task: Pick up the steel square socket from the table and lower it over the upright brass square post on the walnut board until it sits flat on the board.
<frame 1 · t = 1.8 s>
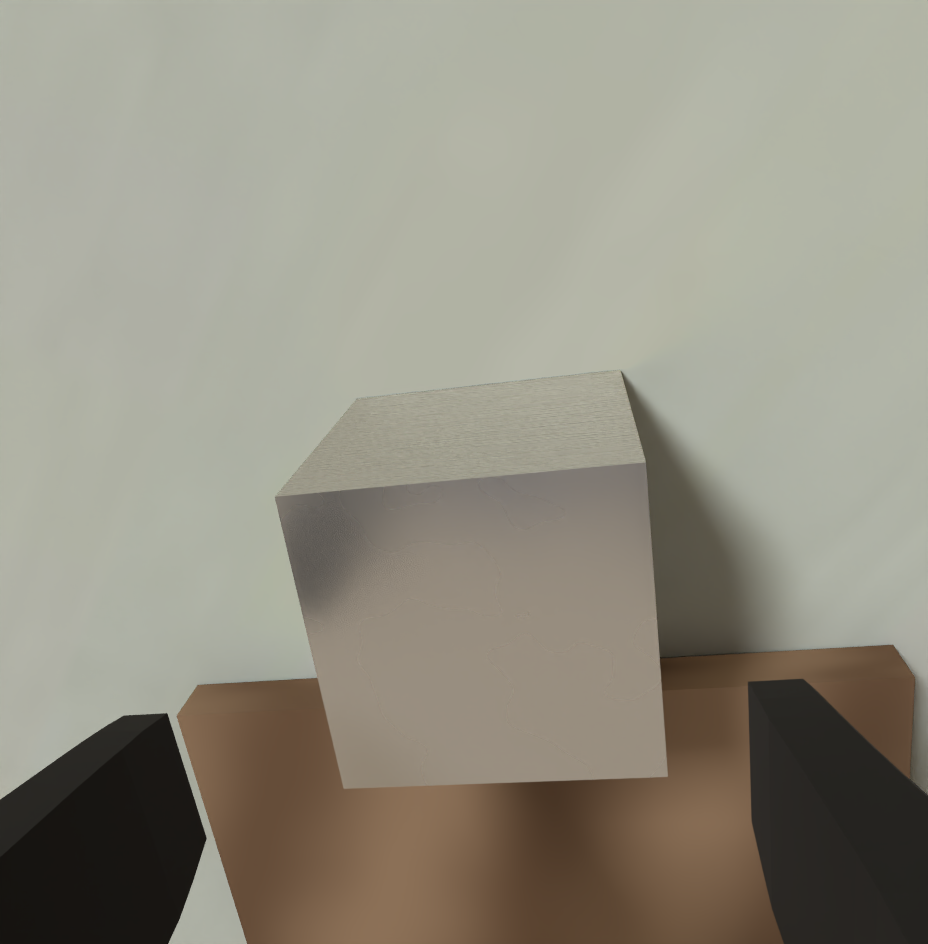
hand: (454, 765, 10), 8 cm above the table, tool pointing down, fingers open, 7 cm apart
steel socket: (501, 506, 18), on the table
walnut board: (554, 896, 21), on the table
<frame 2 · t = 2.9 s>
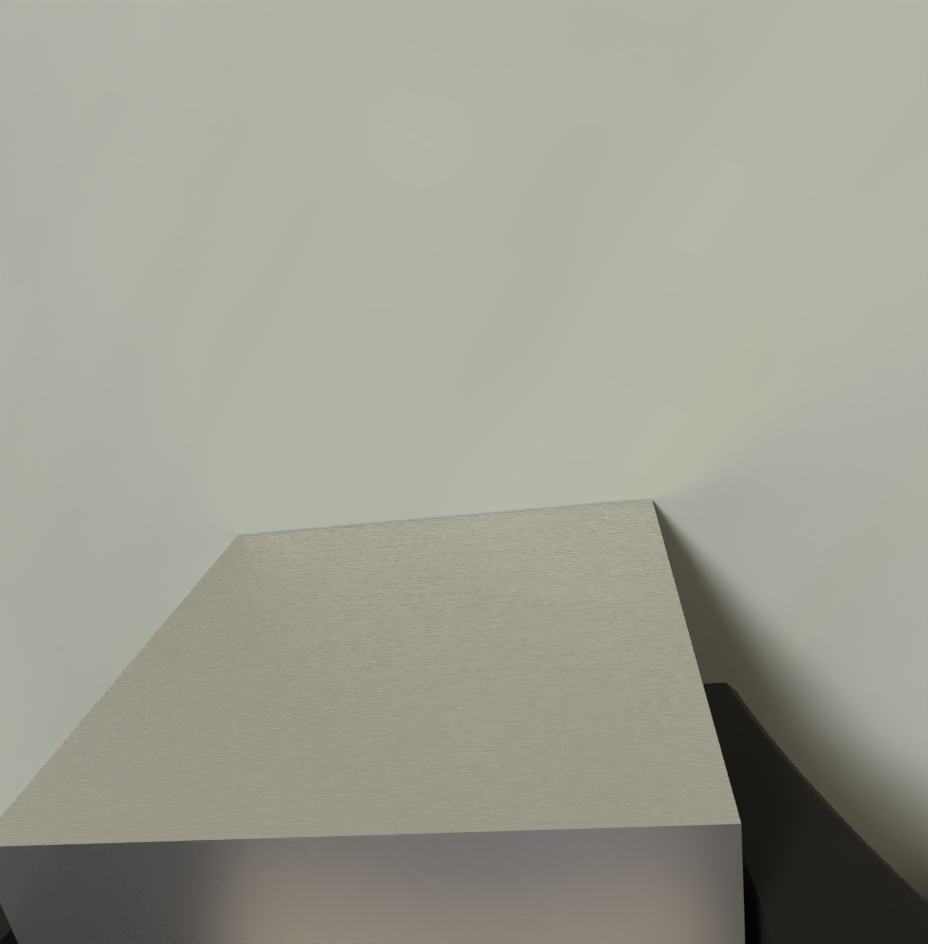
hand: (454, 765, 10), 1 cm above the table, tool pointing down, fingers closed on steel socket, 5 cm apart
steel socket: (466, 695, 11), on the table, touching gripper
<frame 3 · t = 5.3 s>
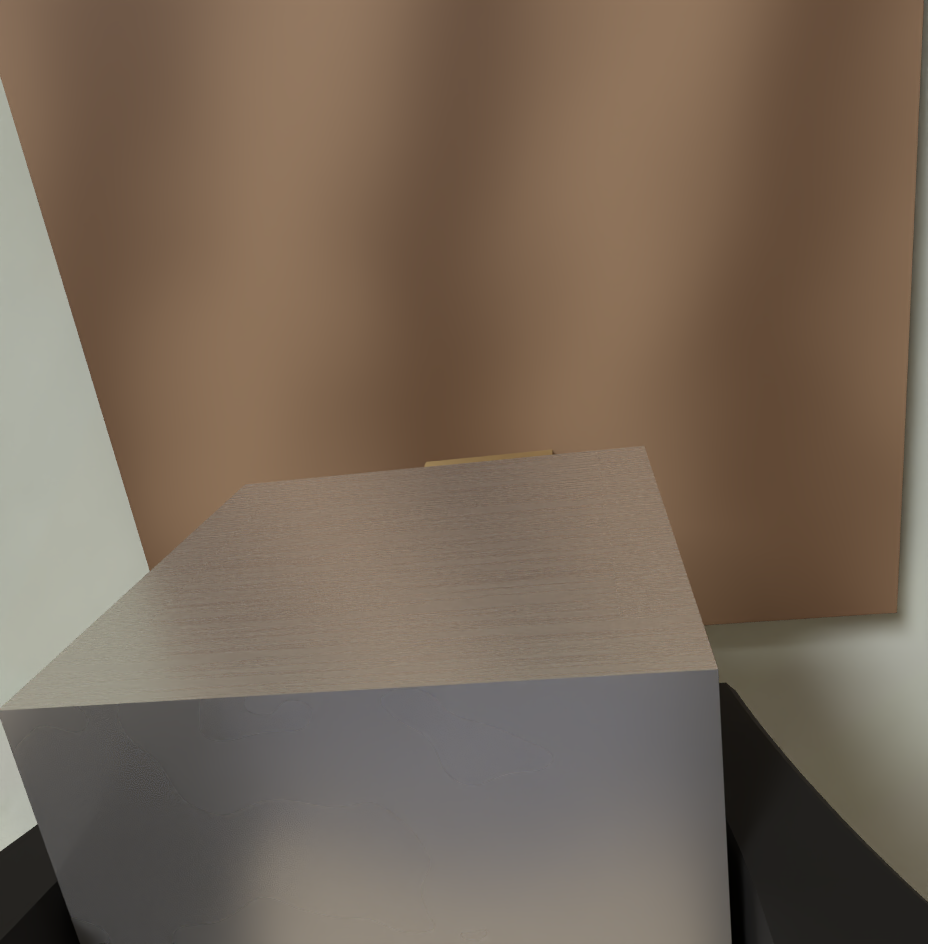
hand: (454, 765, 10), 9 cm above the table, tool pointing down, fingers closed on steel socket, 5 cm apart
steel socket: (464, 645, 12), point 7 cm above the table, touching gripper
walnut board: (476, 313, 17), on the table
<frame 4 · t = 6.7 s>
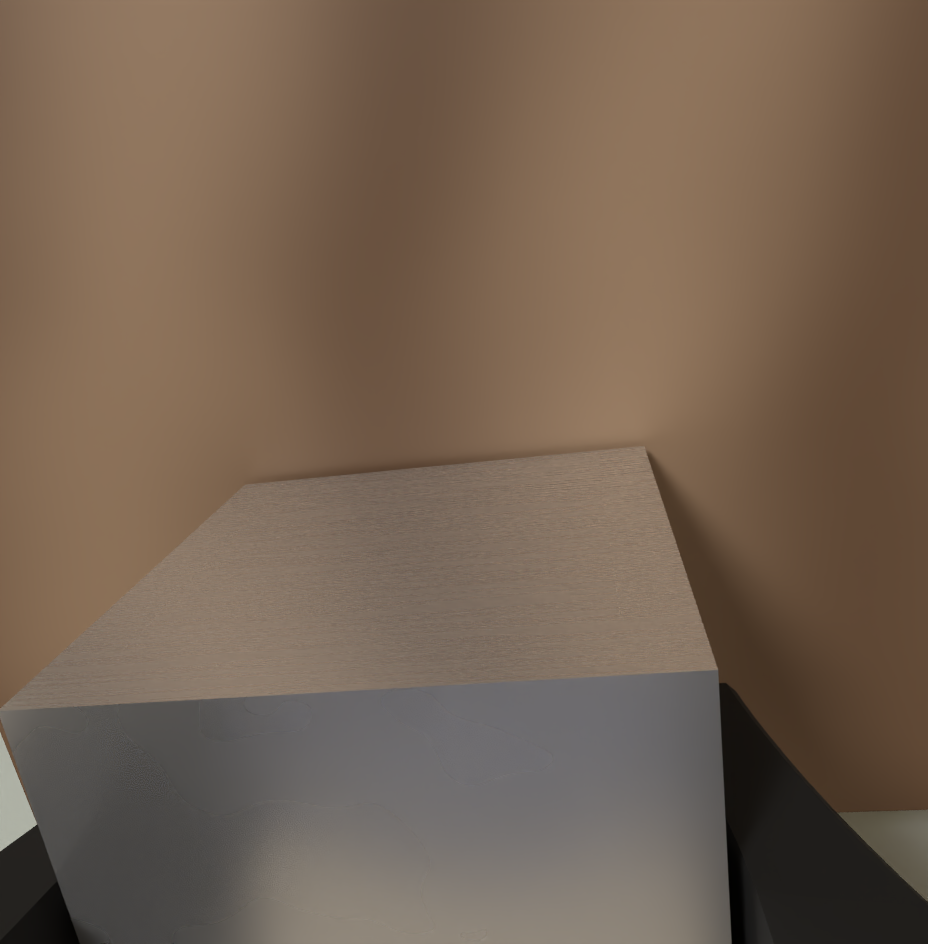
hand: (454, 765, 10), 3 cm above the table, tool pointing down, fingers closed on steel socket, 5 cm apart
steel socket: (464, 645, 12), point 1 cm above the table, touching gripper
walnut board: (442, 380, 12), on the table
when the fingers open (3 cm above the table, at t = 7.7 s): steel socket stays where it is, resting on walnut board.
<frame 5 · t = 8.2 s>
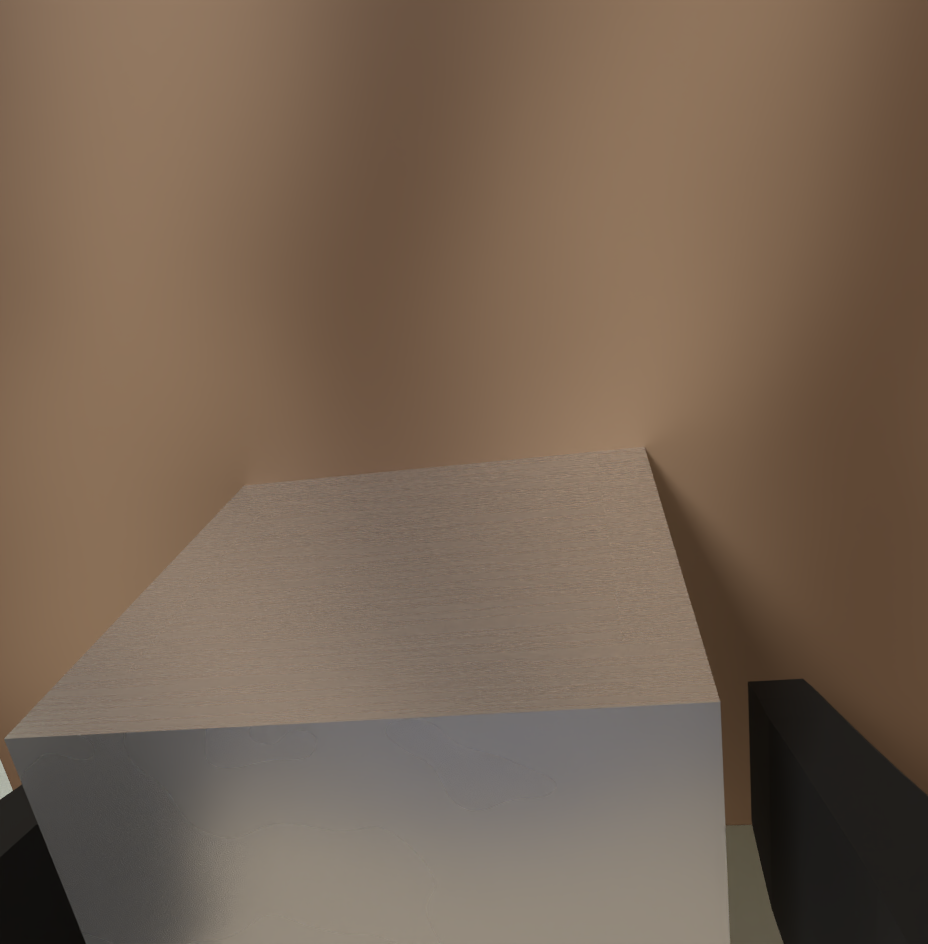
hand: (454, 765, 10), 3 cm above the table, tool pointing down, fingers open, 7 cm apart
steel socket: (465, 642, 12), point 1 cm above the table, touching walnut board
walnut board: (440, 384, 12), on the table
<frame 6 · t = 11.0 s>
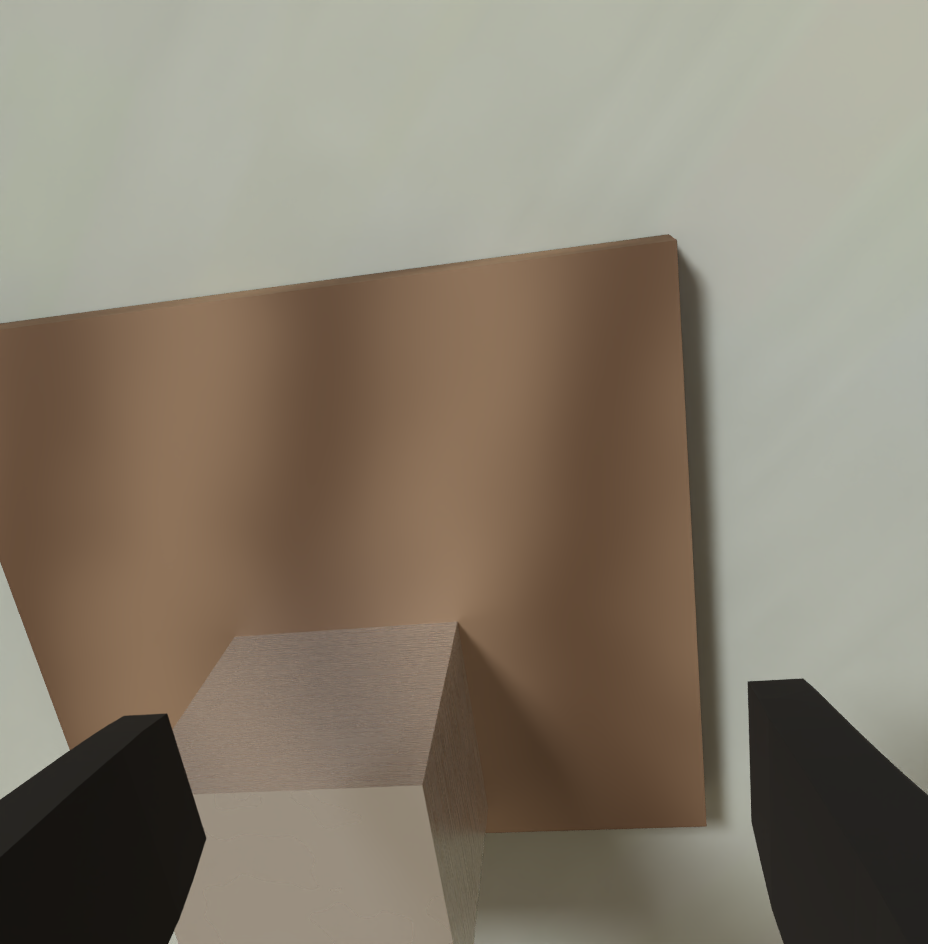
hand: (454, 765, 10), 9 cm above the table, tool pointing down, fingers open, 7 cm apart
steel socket: (364, 724, 20), point 1 cm above the table, touching walnut board
walnut board: (349, 574, 20), on the table
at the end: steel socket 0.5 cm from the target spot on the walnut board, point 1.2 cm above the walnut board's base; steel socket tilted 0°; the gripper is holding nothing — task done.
